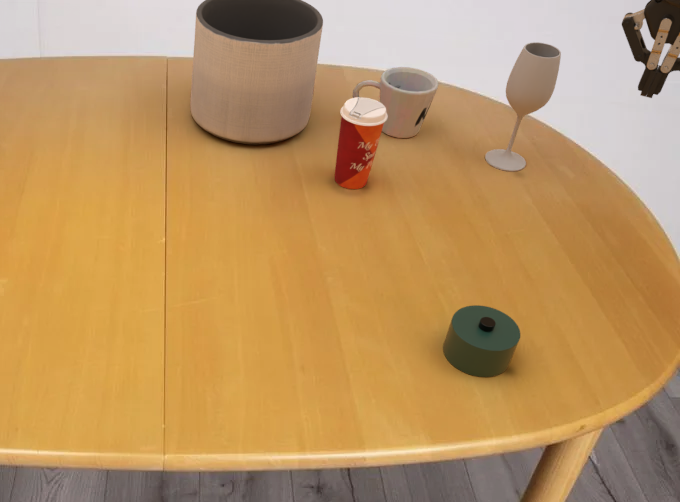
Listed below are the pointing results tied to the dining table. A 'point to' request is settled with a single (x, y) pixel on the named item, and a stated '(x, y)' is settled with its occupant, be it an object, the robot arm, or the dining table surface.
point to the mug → (403, 99)
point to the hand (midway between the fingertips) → (646, 94)
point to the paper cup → (358, 140)
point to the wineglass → (527, 95)
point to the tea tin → (481, 341)
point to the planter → (254, 68)
